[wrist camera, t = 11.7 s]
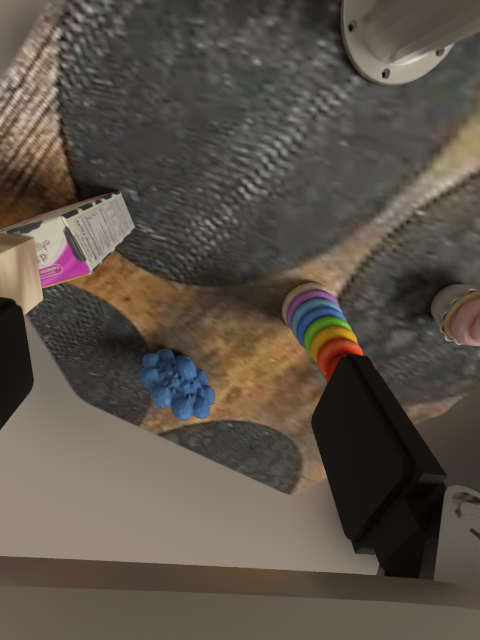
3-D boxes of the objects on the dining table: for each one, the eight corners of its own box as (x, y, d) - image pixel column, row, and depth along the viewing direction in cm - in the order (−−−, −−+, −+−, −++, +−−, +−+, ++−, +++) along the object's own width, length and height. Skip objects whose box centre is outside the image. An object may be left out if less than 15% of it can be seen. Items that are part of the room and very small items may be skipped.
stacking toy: (278, 329, 47) (312, 424, 30) (283, 280, 43) (324, 360, 26) (328, 328, 47) (388, 421, 31) (337, 280, 43) (411, 357, 27)
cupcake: (493, 292, 46) (558, 325, 37) (444, 336, 49) (493, 376, 41) (457, 260, 43) (518, 288, 34) (407, 310, 46) (451, 346, 38)
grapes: (227, 351, 48) (231, 407, 38) (207, 381, 51) (205, 440, 40) (159, 321, 45) (141, 373, 34) (141, 354, 47) (120, 412, 37)
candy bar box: (57, 254, 39) (-35, 313, 25) (34, 215, 36) (-83, 255, 22) (139, 229, 38) (92, 276, 24) (121, 188, 36) (57, 212, 21)
